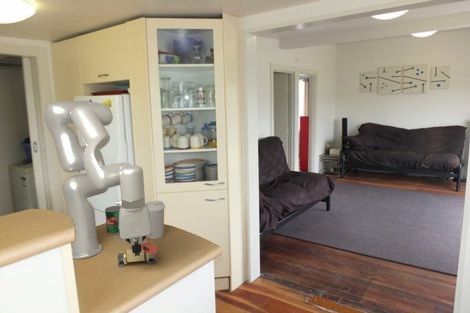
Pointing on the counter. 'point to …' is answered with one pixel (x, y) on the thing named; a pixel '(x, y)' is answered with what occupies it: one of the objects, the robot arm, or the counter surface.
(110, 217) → the canned tomato
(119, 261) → the valve body
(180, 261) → the counter surface
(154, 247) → the lever
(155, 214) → the coffee cup
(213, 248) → the counter surface
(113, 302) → the counter surface
